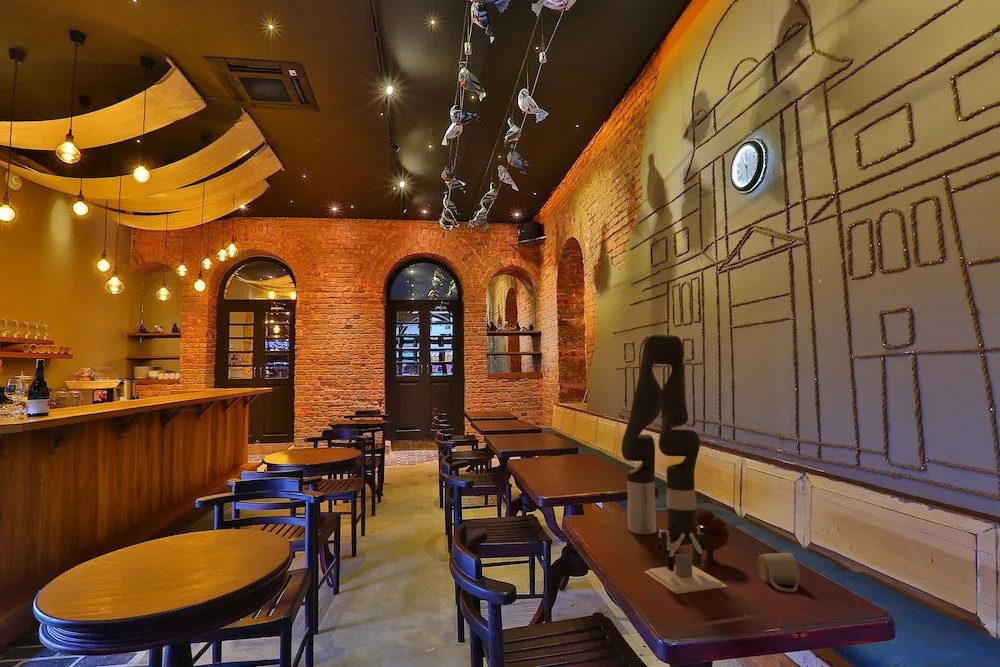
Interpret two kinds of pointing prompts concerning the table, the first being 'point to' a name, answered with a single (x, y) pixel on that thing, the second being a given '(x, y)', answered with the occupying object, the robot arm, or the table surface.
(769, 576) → the ceramic mug
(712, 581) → the cover board
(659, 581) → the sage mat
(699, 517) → the ice cream bowl
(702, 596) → the table surface
